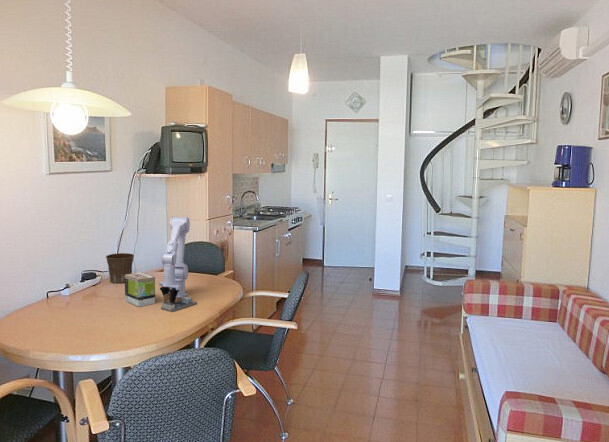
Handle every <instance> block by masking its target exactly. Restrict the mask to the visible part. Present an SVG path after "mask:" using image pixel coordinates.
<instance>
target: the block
mask: <svg viewBox="0 0 609 442" xmlns="http://www.w3.org/2000/svg"><path fill="white" fill-rule="evenodd" d="M163 302H169V303H174V302H171V296H170V293H168V294H165V295H164V297H163Z"/></svg>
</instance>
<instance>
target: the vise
mask: <svg viewBox="0 0 609 442" xmlns="http://www.w3.org/2000/svg"><path fill="white" fill-rule="evenodd" d="M196 305H198V301H196V300H195V301H192V303H189V304H186V303H182V302H181V300H178V301H175V302H174V303H169V302H164V301H163V302H161V306H160V309H161V310H163V311H167V312H170V313H174V312H177V311H180V310H183V309H186V308H189V307H193V306H196Z"/></svg>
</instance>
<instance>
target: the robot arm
mask: <svg viewBox="0 0 609 442" xmlns="http://www.w3.org/2000/svg"><path fill="white" fill-rule="evenodd" d="M190 225H191V222H190V218H189V217H188V216H187V217H184V216H183V217H179V216H171V218H170V219H169V226H170V230H171V233H170V234H171V235H170V240H169V241H168V242H167V243H166V248H165V251H164V253H163V254H162V256H161V264H162V268H163V281H159V282H158V287H159V286H160V287H159V290H160V291H161V293H162V297H163V298H164V295H165V294H168V293H170V296H171V302H176V300H177V298H181V296H182V297H184V296H185V297H187V296H189V293H186V280H187V279H188V277H189V267H188V264H186V263H184V257H185V256H184V255H185V245H186V236H187V234H188V233H189V232H190Z"/></svg>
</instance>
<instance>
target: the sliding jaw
mask: <svg viewBox="0 0 609 442" xmlns="http://www.w3.org/2000/svg"><path fill="white" fill-rule="evenodd" d="M180 301H181V302H182V303H186V304H189V303H192V302H193V298H192V297H188V296H183V297H182V296H181V297H180Z"/></svg>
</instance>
